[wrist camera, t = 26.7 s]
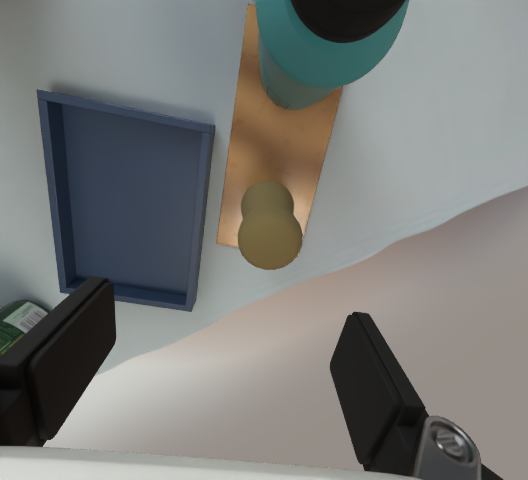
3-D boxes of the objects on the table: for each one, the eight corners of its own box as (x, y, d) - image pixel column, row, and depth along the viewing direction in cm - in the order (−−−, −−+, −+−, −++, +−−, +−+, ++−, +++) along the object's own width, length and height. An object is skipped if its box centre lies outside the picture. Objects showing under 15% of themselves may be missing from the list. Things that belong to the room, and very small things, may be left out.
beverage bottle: (333, 100, 26) (517, 22, 7) (268, 122, 27) (286, 102, 8) (319, 21, 23) (533, -390, 5) (248, 48, 24) (204, -225, 6)
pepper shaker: (291, 176, 29) (307, 200, 18) (296, 228, 31) (314, 276, 21) (236, 184, 29) (222, 213, 19) (245, 235, 31) (238, 286, 21)
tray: (55, 92, 26) (36, 89, 24) (215, 125, 27) (211, 124, 25) (73, 282, 34) (59, 292, 31) (195, 300, 35) (191, 312, 33)
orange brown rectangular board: (248, 5, 23) (248, 3, 23) (356, 31, 24) (358, 30, 24) (216, 242, 32) (216, 243, 31) (297, 255, 33) (298, 257, 32)
